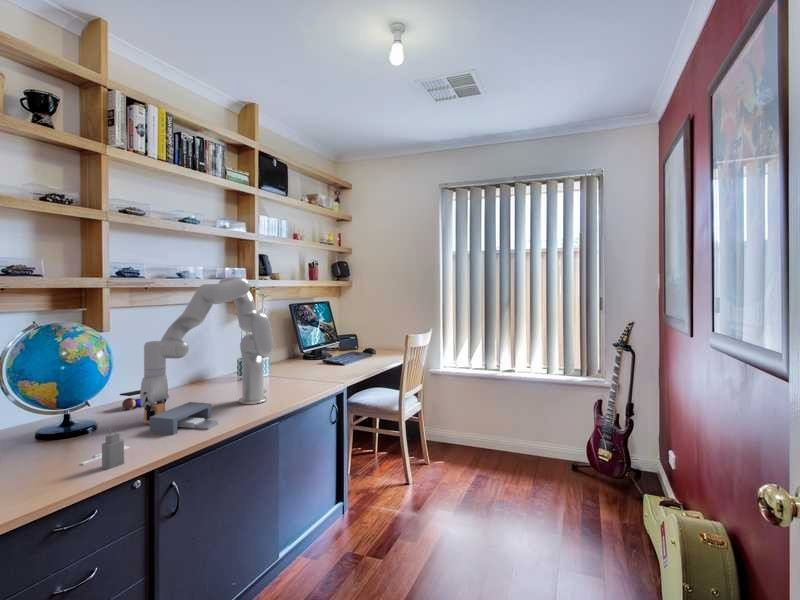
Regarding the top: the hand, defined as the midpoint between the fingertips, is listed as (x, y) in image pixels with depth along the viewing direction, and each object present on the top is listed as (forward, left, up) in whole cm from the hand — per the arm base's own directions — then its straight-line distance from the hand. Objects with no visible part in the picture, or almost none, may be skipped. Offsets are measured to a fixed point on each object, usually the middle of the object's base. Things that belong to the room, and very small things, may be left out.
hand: (155, 418), depth 176 cm
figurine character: (-18, -24, -2) cm, 30 cm away
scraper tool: (0, +8, -2) cm, 8 cm away
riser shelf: (0, +12, -2) cm, 12 cm away
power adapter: (+39, +19, -2) cm, 43 cm away
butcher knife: (+33, +9, -2) cm, 34 cm away
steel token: (0, +23, -2) cm, 23 cm away
